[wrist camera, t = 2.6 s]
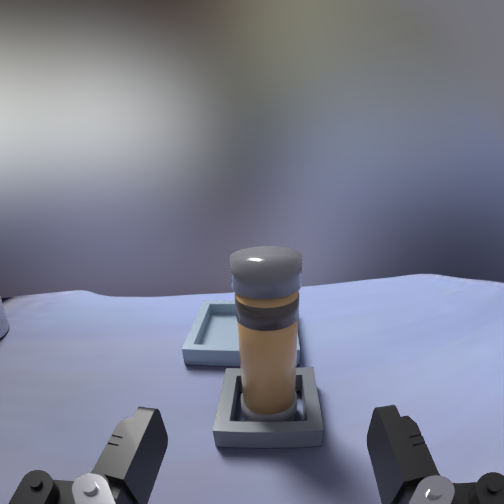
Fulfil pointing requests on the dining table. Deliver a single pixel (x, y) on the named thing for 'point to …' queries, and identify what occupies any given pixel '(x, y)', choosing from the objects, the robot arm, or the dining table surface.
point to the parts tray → (215, 336)
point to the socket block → (268, 432)
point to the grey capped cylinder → (267, 330)
